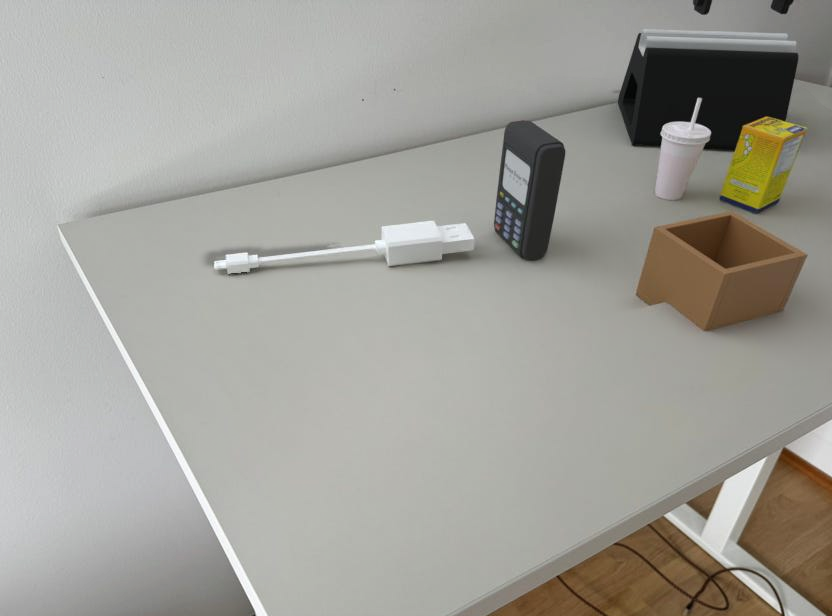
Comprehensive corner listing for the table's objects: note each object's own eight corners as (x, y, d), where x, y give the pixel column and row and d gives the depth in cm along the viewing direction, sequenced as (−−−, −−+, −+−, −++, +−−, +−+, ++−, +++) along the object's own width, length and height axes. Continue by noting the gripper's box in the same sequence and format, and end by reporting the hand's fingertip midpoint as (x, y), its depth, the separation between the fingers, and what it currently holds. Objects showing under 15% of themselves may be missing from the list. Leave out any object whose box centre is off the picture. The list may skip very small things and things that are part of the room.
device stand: (777, 154, 114) (814, 57, 105) (632, 146, 118) (655, 51, 108) (743, 107, 132) (771, 20, 122) (617, 101, 135) (636, 16, 126)
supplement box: (739, 188, 105) (765, 115, 98) (779, 203, 101) (809, 127, 94) (716, 199, 102) (741, 124, 95) (756, 215, 98) (785, 137, 91)
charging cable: (217, 267, 91) (212, 244, 89) (463, 238, 93) (465, 215, 91) (216, 288, 87) (211, 264, 85) (474, 257, 89) (475, 234, 87)
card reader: (487, 230, 95) (500, 120, 86) (514, 226, 96) (530, 116, 87) (520, 263, 89) (538, 147, 79) (549, 258, 90) (570, 143, 80)
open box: (708, 277, 86) (731, 210, 80) (777, 324, 78) (808, 254, 72) (635, 294, 83) (654, 226, 77) (698, 345, 75) (725, 274, 70)
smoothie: (677, 208, 100) (707, 109, 91) (636, 194, 104) (661, 97, 95) (699, 194, 103) (730, 97, 95) (658, 181, 107) (684, 86, 98)
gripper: (725, -154, 76) (680, 19, 86) (889, -156, 75) (824, 18, 86) (699, -157, 81) (660, 5, 92) (851, -159, 81) (794, 4, 92)
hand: (739, 11), depth 89 cm, fingers open, 9 cm apart
